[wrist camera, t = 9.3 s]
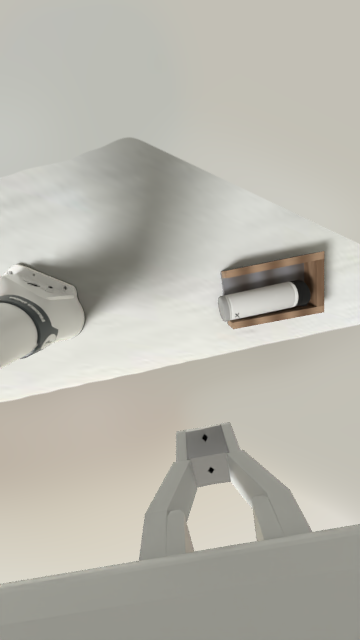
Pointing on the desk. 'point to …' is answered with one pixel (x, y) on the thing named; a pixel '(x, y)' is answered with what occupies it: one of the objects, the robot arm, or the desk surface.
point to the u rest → (275, 273)
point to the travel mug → (264, 300)
